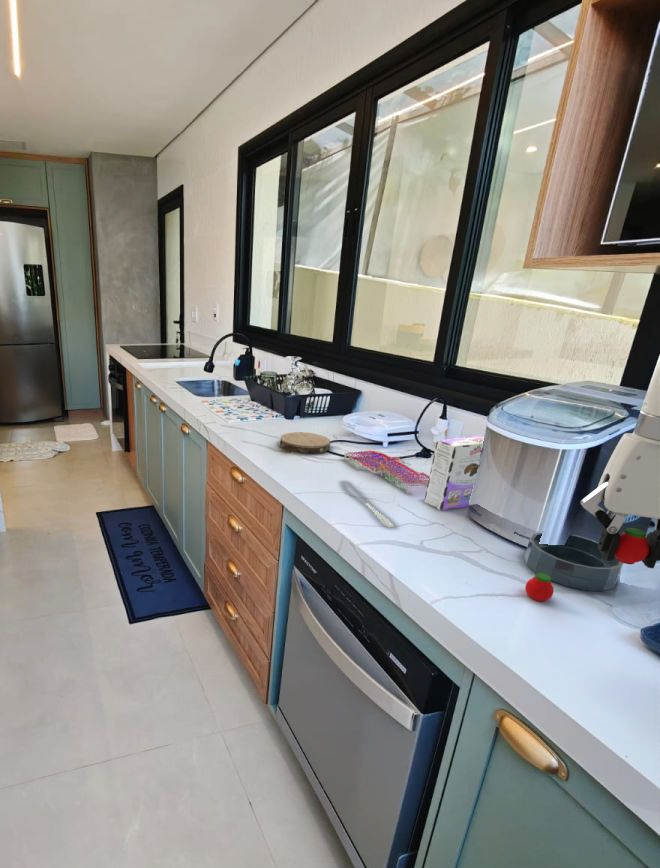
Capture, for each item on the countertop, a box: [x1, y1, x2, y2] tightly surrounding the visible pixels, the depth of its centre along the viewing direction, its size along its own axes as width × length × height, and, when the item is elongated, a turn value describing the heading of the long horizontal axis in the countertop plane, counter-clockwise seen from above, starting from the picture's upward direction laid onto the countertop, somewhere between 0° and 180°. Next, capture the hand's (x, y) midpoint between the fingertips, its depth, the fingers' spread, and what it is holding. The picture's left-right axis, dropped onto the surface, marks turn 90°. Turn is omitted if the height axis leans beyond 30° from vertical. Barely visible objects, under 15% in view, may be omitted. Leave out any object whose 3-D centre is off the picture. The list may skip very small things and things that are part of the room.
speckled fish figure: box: [343, 450, 430, 493], centre depth 140 cm, size 30×15×5 cm, turn 13°
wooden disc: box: [279, 431, 331, 455], centre depth 163 cm, size 16×16×3 cm
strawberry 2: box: [615, 527, 649, 565], centre depth 68 cm, size 4×4×5 cm
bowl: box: [523, 532, 624, 592], centre depth 94 cm, size 14×14×5 cm
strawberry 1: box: [524, 573, 555, 602], centre depth 85 cm, size 4×4×4 cm
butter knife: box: [364, 502, 395, 528], centre depth 122 cm, size 1×27×3 cm
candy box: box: [424, 435, 485, 511], centre depth 120 cm, size 14×6×16 cm, turn 111°
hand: (625, 558), depth 69 cm, fingers closed on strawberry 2, 3 cm apart
